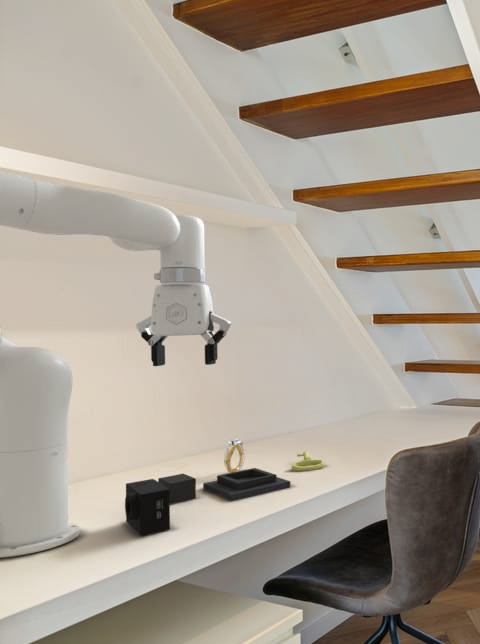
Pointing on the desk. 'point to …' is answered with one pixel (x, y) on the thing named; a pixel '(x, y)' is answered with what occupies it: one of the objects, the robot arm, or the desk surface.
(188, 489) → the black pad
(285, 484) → the base pad
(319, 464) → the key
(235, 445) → the ring
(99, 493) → the desk surface
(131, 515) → the digital camera
